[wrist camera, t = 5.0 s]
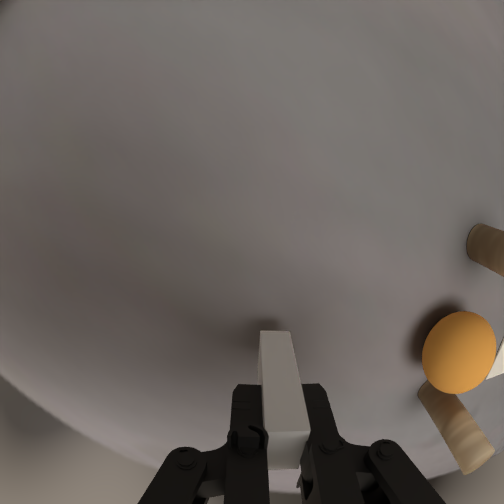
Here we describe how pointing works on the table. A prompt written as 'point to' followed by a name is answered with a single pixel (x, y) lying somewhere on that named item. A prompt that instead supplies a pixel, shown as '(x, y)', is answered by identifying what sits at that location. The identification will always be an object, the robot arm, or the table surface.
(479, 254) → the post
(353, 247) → the table surface
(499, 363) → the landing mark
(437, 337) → the ball
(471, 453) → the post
